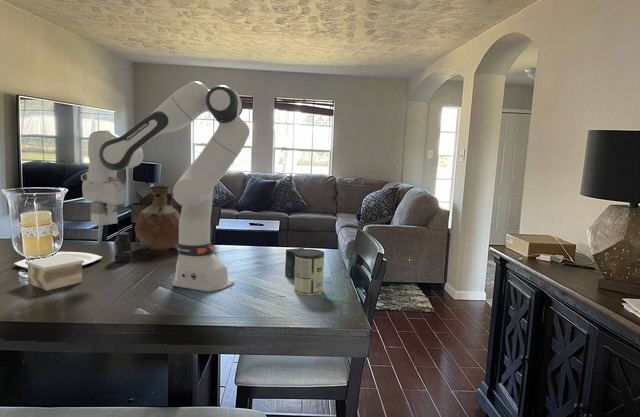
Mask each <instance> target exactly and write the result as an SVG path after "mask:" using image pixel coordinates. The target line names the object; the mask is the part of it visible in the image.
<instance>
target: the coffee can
mask: <svg viewBox="0 0 640 417" xmlns="http://www.w3.org/2000/svg"><path fill="white" fill-rule="evenodd" d="M324 260H325V252H324V251H323V250H320V249H312V248H304V249H301V250H297V251H295V278H294V287H293V288H294V289H293V291H294V293H296V294H298V295H302V296H318V295H320V294H322V293H323V291H324V290H323V287H324V263H325V262H324Z"/></svg>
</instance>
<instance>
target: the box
mask: <svg viewBox="0 0 640 417" xmlns="http://www.w3.org/2000/svg"><path fill="white" fill-rule="evenodd" d="M301 249H305V248H304V247H299V248H289V249H288V248H287V249H285V262H284V263H285V267H284V269H285V270H284V275H285V276H287V278H290V279H295V251H297V250H301Z"/></svg>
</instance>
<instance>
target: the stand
mask: <svg viewBox="0 0 640 417" xmlns="http://www.w3.org/2000/svg"><path fill="white" fill-rule="evenodd" d="M82 263H84V260H82V259H78V258H75V257H72V256H68V255H65V254H63V255H57V256H51V257H46V258H40V259H34V260H29V261H25V264H27V265H28V269H27V280H28V281H27V282H28V284H29V285H31V286H33V287H36V288H39V289H42V290H44V291H51V289H52V290H54V289H55V290H56V289H59V288H63V287H68V286H72V285H76V284H80V283H83V266H82Z"/></svg>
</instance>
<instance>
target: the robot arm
mask: <svg viewBox="0 0 640 417" xmlns="http://www.w3.org/2000/svg"><path fill="white" fill-rule="evenodd" d="M243 109H244V104H243V100H242V98H241V97H240V95H239V94H238V92H237V91H235V90H234V89H232V88H231V87H230V86H227V85H223V84H220V85H215V86H213V87H211V88H210V89H209V88H208V87H207V86H206V85H205V84H204V83H203V82H200V81H197V80H196V81H195V80H193V81H191V82H189V83H187V84H186V85H183V86H182V87H180V88H179V89H177V91H175V92H173V93H172V94H171V95H170V96H168V97H167V99H166V100H164V101H163V102H162V103H161V104H160V105H159V106H158V107H157V108H156V109H155V110H153V111H152V112H151V113H150V114H149V115H147V117H145V118H144V119H143V120H141V121H140V122H139V123H138V124H135V126H133V127H132V128H131V129H129V130H128V131H126V133H124V134H122V135H121V136H120V135H117V134H116V133H114V132H113V131H112V130H99V131H98V130H97V131H94V132H92V133H90V134H89V136H88V140H87V141H88V142H87V157H88V160H89V162H88V171H87V172H84V173H83V174H81V175H80V180H81V181H82V183H81V184H82V185H81V189H82V198H83V200H84V201H86V202H87V201H88V202H102V203H107V207H108V210H107V211H106V216H113V210H114V208H115V205H117V206H118V205H124V203H125V199H126V198H125V190H124V185H123V183H122V181H121V180H120V179H119V178H118V177H117V171H120V170H123V169H124V170H125V169H133V168H135V167H137V166H140V165H141V164H142V162H143V160H144V158H145V154H144V150H143V146H145V145H146V144H147V143H148V142H149V141H151V140H152V139H153V138H156V137H158V136H159V135H163V134H167V133H170V132H171V133H172V132H177V131H178V132H179V130H182V129H183V128H185V127H187V126H189V125H190V124H191V123H193V121H194V120H196V119H197V118H198V117H199V116H201V115H202V114H204V113H206V112H209V113H210V114H211V115H212V116H213V117H214V119H215V120H216V122H218V127H217V129H216V130H215V132H213V134H212V136H211V137H210V139H209V140H208V142H207V144H206V145H205V146H204V148H203V149H202V151H201V152H200V154H198V156H197V158H195V160H194V161H193V162H192V163H191V164H190V165H189V166H188V167H187V169H186V170H185V172H183V174H182V175H181V177H180V178H179V179H178V180H177V181H176V183H175V184H174V186H173V188H172V189H173V190H172V197H173V198H174V200H175V201H176V203H177V204H178V205H180V206H181V212H180V214H179V215H180V219H179V241H178V242H177V246H176V249H177V251H176V252H177V254H178V256H177V261H176V266H175V275H174V280H173V282H172V286H174V287H179V288H184V289H189V290H196V291H201V292H214V291H220V290H222V289H226V288H228V287H231V286H232V285H234V284H235V280H234V279H232V278H230V277H229V276H228V275H229V274H228V269H227V266H226V265H225V264H224V263H223V262H222V261H221V260H220V259H219V257H217V255H216V254H215V252H214V250H215V248H216V247H217V246H216V245H215V246H214V245H212V242H211V219H212V218H211V217H212V211H213V200H214V190H215V187H216V186H217V184H218V183H219V182H220V180H221V179H222V178H223V177H224V175H225V174H226V173H227V172H228V170H229V169H230V167H232V164H233V163H234V162H235V160H236V159H237V157H238V156H239V154H240V153H241V152H242V150H243V149H244V146H245V144H246V142H247V140H248V138H249V135H250V132H251V130H250V127H249V126H248V124H247V123H246V122H245V121H244V120H243V119H242V118H241V115H242V112H243Z"/></svg>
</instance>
